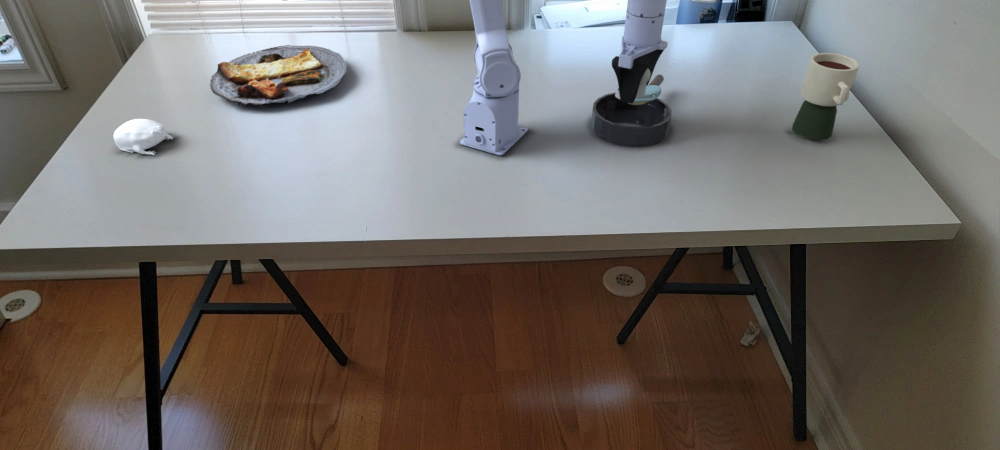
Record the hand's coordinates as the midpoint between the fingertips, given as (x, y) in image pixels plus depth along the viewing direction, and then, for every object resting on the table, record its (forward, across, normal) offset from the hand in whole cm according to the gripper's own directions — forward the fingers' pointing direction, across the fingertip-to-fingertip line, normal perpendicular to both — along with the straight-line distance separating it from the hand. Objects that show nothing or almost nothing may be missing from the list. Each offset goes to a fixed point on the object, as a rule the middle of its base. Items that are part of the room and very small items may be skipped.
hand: (634, 93), depth 107 cm
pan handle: (+4, +11, 0) cm, 12 cm away
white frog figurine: (+6, -44, +68) cm, 81 cm away
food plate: (+6, -16, +64) cm, 67 cm away
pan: (+6, 0, 0) cm, 6 cm away
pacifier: (+2, +1, 0) cm, 2 cm away
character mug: (+7, +12, -28) cm, 31 cm away
